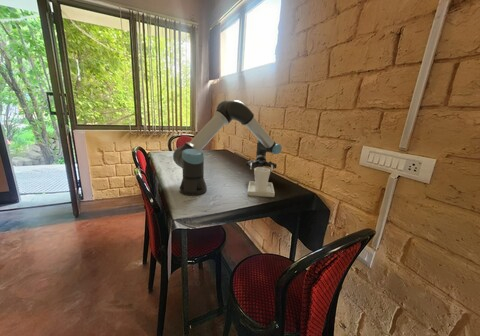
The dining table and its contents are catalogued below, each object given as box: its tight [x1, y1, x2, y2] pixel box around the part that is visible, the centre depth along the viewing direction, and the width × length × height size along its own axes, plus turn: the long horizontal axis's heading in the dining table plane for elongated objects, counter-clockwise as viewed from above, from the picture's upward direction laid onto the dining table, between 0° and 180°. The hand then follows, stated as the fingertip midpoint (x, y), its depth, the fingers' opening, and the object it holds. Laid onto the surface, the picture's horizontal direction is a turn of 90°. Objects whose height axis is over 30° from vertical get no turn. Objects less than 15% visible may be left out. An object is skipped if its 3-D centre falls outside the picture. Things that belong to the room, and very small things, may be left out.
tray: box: [247, 180, 276, 198], centre depth 122 cm, size 15×18×2 cm
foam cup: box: [253, 166, 271, 192], centre depth 119 cm, size 10×9×13 cm
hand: (261, 168), depth 128 cm, fingers open, 13 cm apart
